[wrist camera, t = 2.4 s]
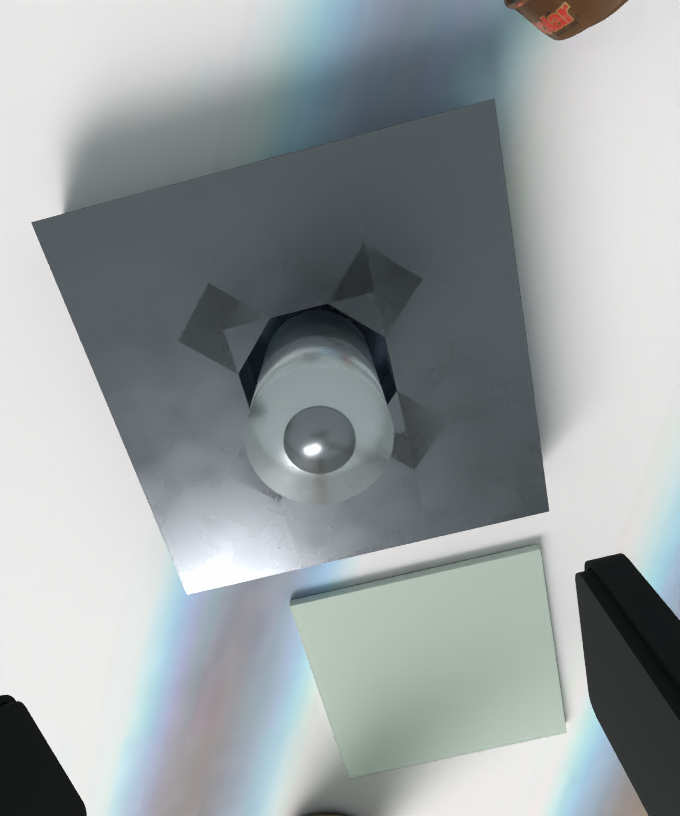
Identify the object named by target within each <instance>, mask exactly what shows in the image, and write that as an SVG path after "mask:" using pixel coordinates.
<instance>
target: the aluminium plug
mask: <svg viewBox="0 0 680 816" xmlns="http://www.w3.org/2000/svg"><path fill="white" fill-rule="evenodd" d="M244 440H245V448H246V452H247V456H248V459H249V461H250V463H251V466H252V467H253V469H254V471H255V472H256V474H257V475H258V476H259V478H260V479H261V480H262V481H263V482H264V483H265V484H266V485H267V486H268V487H270V488H271V489H272V490H274V491H275V492H277V493H278V494H280V495H282V496H284V497H286V498H288V499H291V500H294V501H297V502H300V503H306V504H317V505H321V504H332V503H337V502H341V501H344V500H347V499H349V498H352V497H354V496H356V495H358V494H360V493H361V492H363V491H364V490H366V489H367V488H368V487H370V486H371V485H372V484H373V483H374V482H375V481H376V480H377V479H378V477H379V476H380V475H381V474H382V472H383V471H384V469H385V467H386V466H387V464H388V461H389V459H390V457H391V453H392V449H393V443H394V429H393V422H392V419H391V415H390V412H389V409H388V406H387V403H386V400H385V397H384V394H383V391H382V388H381V384H380V381H379V378H378V375H377V372H376V369H375V366H374V363H373V360H372V357H371V354H370V351H369V348H368V344H367V342H366V340H365V338H364V336H363V334H362V333H361V331H360V330H359V329H358V328H357V327H356V326H355V325H354V324H353V323H352V322H351V321H349V320H348V319H346V318H345V317H343V316H341V315H339V314H336V313H333V312H328V311H320V310H316V311H307V312H303V313H300V314H297V315H295V316H293V317H291V318H289V319H288V320H286V321H285V322H284V323H283V324H282V325H280V327H279V328H278V329H277V330H276V331H275V333H274V334H273V336H272V337H271V339H270V341H269V344H268V347H267V350H266V354H265V357H264V361H263V364H262V368H261V371H260V375H259V378H258V382H257V385H256V389H255V392H254V396H253V399H252V403H251V406H250V410H249V413H248V417H247V420H246V426H245V437H244Z"/></svg>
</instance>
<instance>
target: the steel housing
mask: <svg viewBox="0 0 680 816" xmlns="http://www.w3.org/2000/svg"><path fill="white" fill-rule="evenodd" d="M31 223H32V226H33V228H34V230H35V233H36V235H37V237H38V240H39V242H40V245H41V247H42V249H43V252H44V254H45V257H46V259H47V261H48V264H49V266H50V269H51V271H52V273H53V276H54V278H55V280H56V283H57V285H58V288H59V290H60V292H61V295H62V297H63V300H64V302H65V304H66V307H67V309H68V312H69V314H70V316H71V319H72V321H73V323H74V326H75V328H76V331H77V333H78V335H79V338H80V340H81V343H82V345H83V347H84V350H85V352H86V355H87V357H88V359H89V362H90V364H91V366H92V369H93V371H94V374H95V376H96V378H97V381H98V383H99V386H100V388H101V390H102V393H103V395H104V398H105V400H106V402H107V405H108V407H109V409H110V412H111V414H112V417H113V419H114V421H115V424H116V426H117V429H118V431H119V433H120V436H121V438H122V441H123V443H124V445H125V448H126V450H127V452H128V455H129V457H130V460H131V462H132V464H133V467H134V469H135V472H136V474H137V476H138V479H139V481H140V483H141V486H142V488H143V491H144V493H145V495H146V498H147V500H148V503H149V505H150V507H151V510H152V512H153V515H154V517H155V519H156V522H157V524H158V526H159V529H160V531H161V534H162V536H163V538H164V541H165V543H166V546H167V548H168V550H169V553H170V555H171V558H172V560H173V562H174V565H175V567H176V569H177V572H178V574H179V577H180V579H181V581H182V584H183V586H184V589H185V591H186V593H187V595H188V594H192V593H197V592H201V591H205V590H210V589H214V588H218V587H223V586H227V585H231V584H236V583H240V582H244V581H249V580H253V579H257V578H262V577H266V576H270V575H275V574H279V573H283V572H288V571H292V570H296V569H301V568H305V567H309V566H314V565H318V564H322V563H327V562H331V561H335V560H340V559H344V558H348V557H353V556H357V555H361V554H366V553H370V552H374V551H379V550H383V549H387V548H392V547H396V546H400V545H405V544H409V543H413V542H418V541H422V540H426V539H431V538H435V537H439V536H444V535H448V534H452V533H457V532H461V531H465V530H470V529H474V528H478V527H483V526H487V525H491V524H496V523H500V522H504V521H509V520H513V519H517V518H522V517H526V516H530V515H535V514H539V513H543V512H548V511H549V506H548V498H547V491H546V483H545V476H544V468H543V461H542V453H541V446H540V438H539V431H538V423H537V416H536V408H535V401H534V393H533V386H532V378H531V371H530V363H529V356H528V348H527V341H526V333H525V326H524V318H523V311H522V303H521V296H520V288H519V281H518V273H517V266H516V258H515V251H514V243H513V236H512V228H511V221H510V213H509V206H508V198H507V191H506V183H505V176H504V168H503V161H502V153H501V146H500V138H499V131H498V123H497V116H496V108H495V101H494V99H492V100H488V101H484V102H480V103H477V104H473V105H469V106H465V107H462V108H458V109H454V110H450V111H447V112H443V113H439V114H435V115H432V116H428V117H424V118H420V119H417V120H413V121H409V122H405V123H402V124H398V125H394V126H390V127H387V128H383V129H379V130H375V131H372V132H368V133H364V134H361V135H357V136H353V137H349V138H346V139H342V140H338V141H334V142H331V143H327V144H323V145H319V146H316V147H312V148H308V149H304V150H301V151H297V152H293V153H289V154H286V155H282V156H278V157H274V158H271V159H267V160H263V161H259V162H256V163H252V164H248V165H244V166H241V167H237V168H233V169H229V170H226V171H222V172H218V173H214V174H211V175H207V176H203V177H200V178H196V179H192V180H188V181H185V182H181V183H177V184H173V185H170V186H166V187H162V188H158V189H155V190H151V191H147V192H143V193H140V194H136V195H132V196H128V197H125V198H121V199H117V200H113V201H110V202H106V203H102V204H98V205H95V206H91V207H87V208H83V209H80V210H76V211H72V212H68V213H65V214H61V215H57V216H53V217H50V218H46V219H42V220H39V221H35V222H31ZM324 304H329V305H331V306H333V307H334V308H336V309H338V310H339V311H341V312H343V313H345V314H346V315H348V316H350V317H351V318H353V319H355V320H356V321H358V322H360V323H361V324H363V325H365V326H366V327H368V328H370V329H372V330H373V331H375V332H377V333H378V334H380V335H381V337H382V342H383V346H384V351H385V355H386V360H387V364H388V368H389V371H388V372H387V374H386V375H385V377H384V378H383V380H382V381H381V383H380V384H381V388H382V391H383V394H384V397H385V400H386V403H387V406H388V409H389V412H390V415H391V419H392V422H393V429H394V443H393V449H392V453H391V457H390V459H389V461H388V464H387V466H386V467H385V469H384V471H383V472H382V474H381V475H380V476H379V477H378V479H377V480H376V481H375V482H374V483H373V484H372V485H371V486H370V487H368V488H367V489H366V490H364V491H363V492H361V493H360V494H358V495H356V496H354V497H352V498H349V499H347V500H344V501H341V502H337V503H332V504H321V505H317V504H306V503H300V502H297V501H294V500H291V499H288V498H286V497H284V496H282V495H280V494H278V493H277V492H275V491H274V490H272V489H271V488H270V487H268V486H267V485H266V484H265V483H264V482H263V481H262V480H261V479H260V478H259V476H258V475H257V474H256V472H255V471H254V469H253V467H252V466H251V463H250V461H249V459H248V456H247V452H246V448H245V440H244V437H245V426H246V420H247V417H248V413H249V410H250V406H251V403H252V399H253V396H254V392H255V389H256V385H255V382H254V379H253V376H252V372H251V369H250V366H249V363H248V360H247V358H248V356H249V354H250V353H251V351H252V349H253V347H254V346H255V344H256V342H257V340H258V338H259V337H260V335H261V333H262V331H263V330H264V328H265V326H266V324H267V323H268V321H269V319H270V318H272V317H276V316H280V315H284V314H288V313H292V312H296V311H300V310H304V309H308V308H312V307H316V306H320V305H324Z"/></svg>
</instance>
